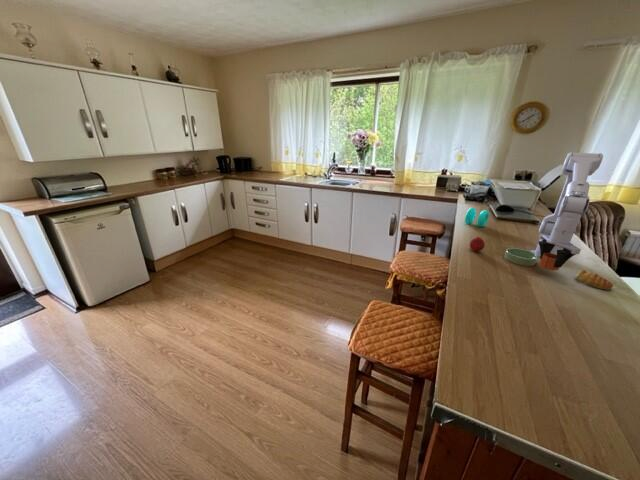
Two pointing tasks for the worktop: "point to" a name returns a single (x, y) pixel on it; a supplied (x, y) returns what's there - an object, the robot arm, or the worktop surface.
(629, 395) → the worktop surface
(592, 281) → the pastry
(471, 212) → the pair of cyan ovals
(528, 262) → the big bowl
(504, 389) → the worktop surface
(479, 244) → the onion
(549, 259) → the small bowl
